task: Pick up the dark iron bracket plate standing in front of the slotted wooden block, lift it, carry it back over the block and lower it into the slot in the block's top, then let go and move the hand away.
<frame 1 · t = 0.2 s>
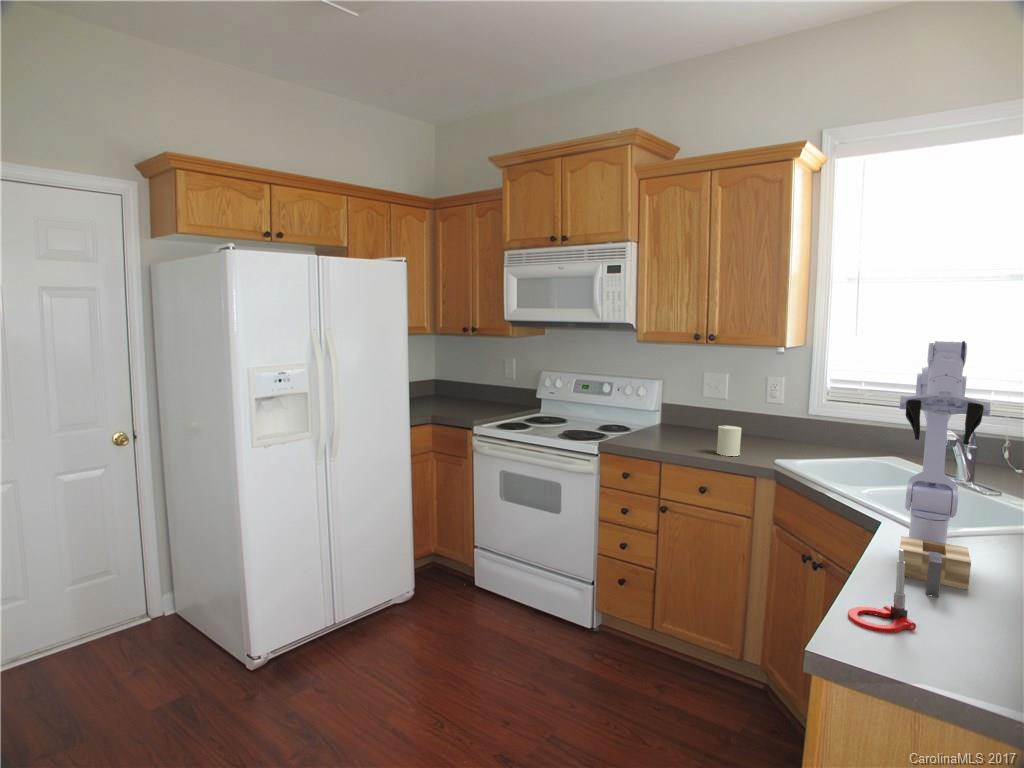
hand: (941, 439, 118), 30 cm above the countertop, tool tilted 45°, fingers open, 7 cm apart
tow hook: (877, 623, 108), on the countertop
bracket: (932, 592, 122), on the countertop
slotted wooden block: (931, 573, 132), on the countertop
can: (728, 455, 258), on the countertop
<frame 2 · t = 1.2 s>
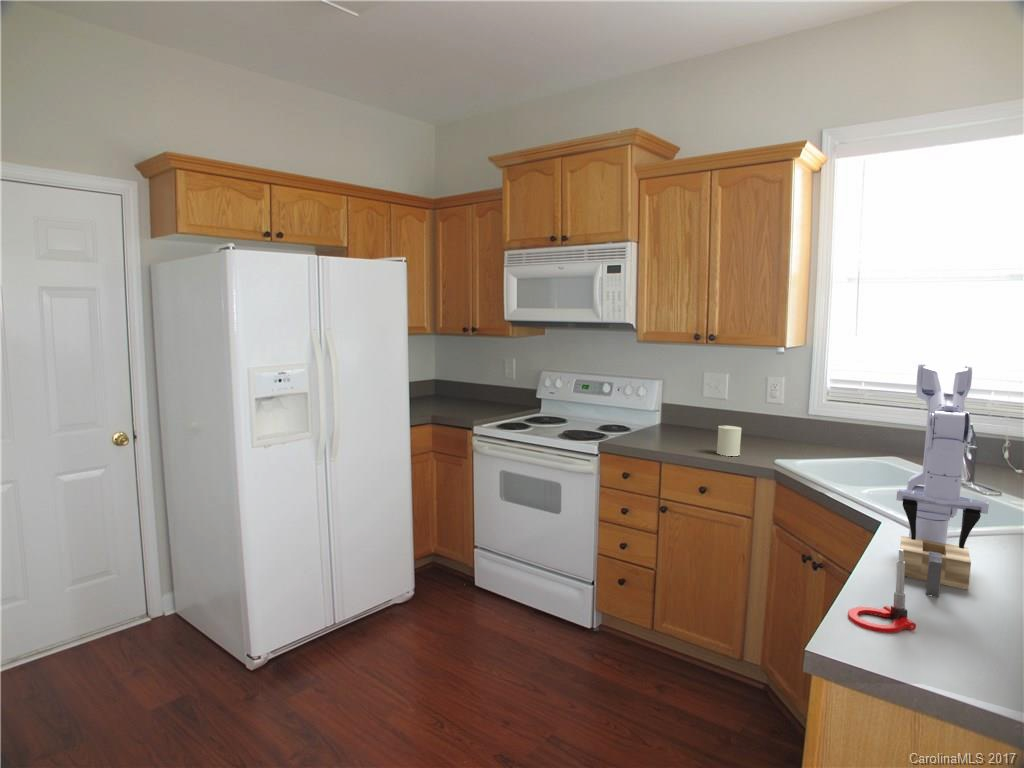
hand: (936, 542, 122), 10 cm above the countertop, tool pointing down, fingers open, 7 cm apart
nothing on the countertop moved.
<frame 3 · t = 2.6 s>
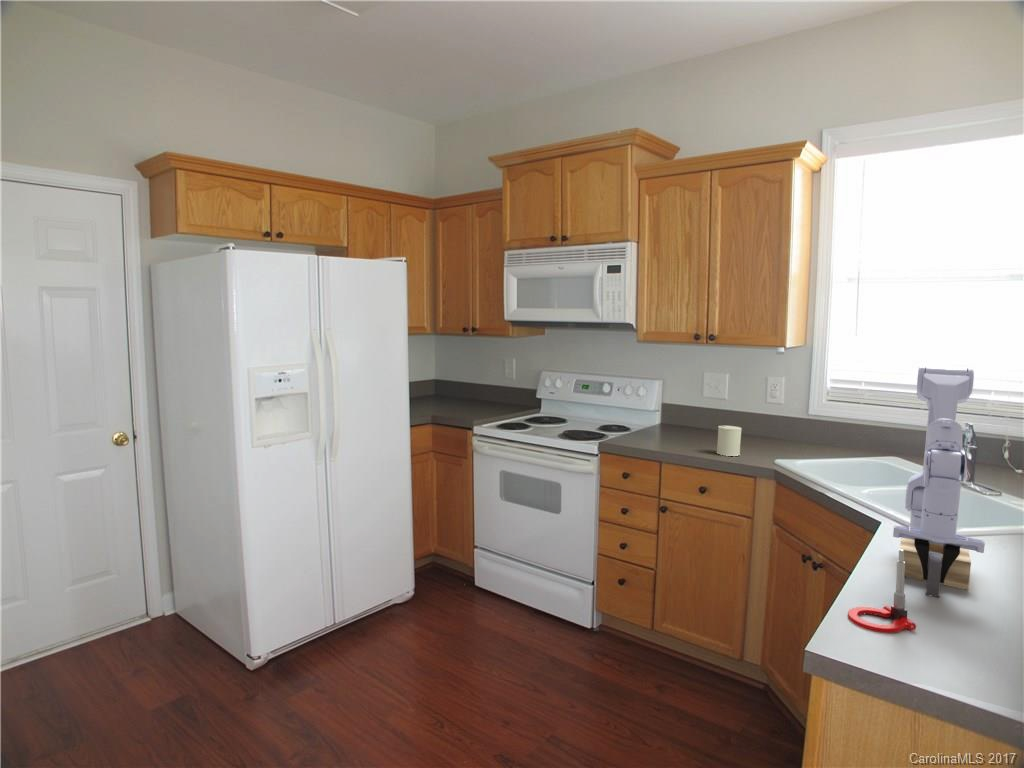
hand: (933, 579, 122), 2 cm above the countertop, tool pointing down, fingers closed on bracket, 2 cm apart
bracket: (932, 591, 122), on the countertop, touching gripper
everything else where it was.
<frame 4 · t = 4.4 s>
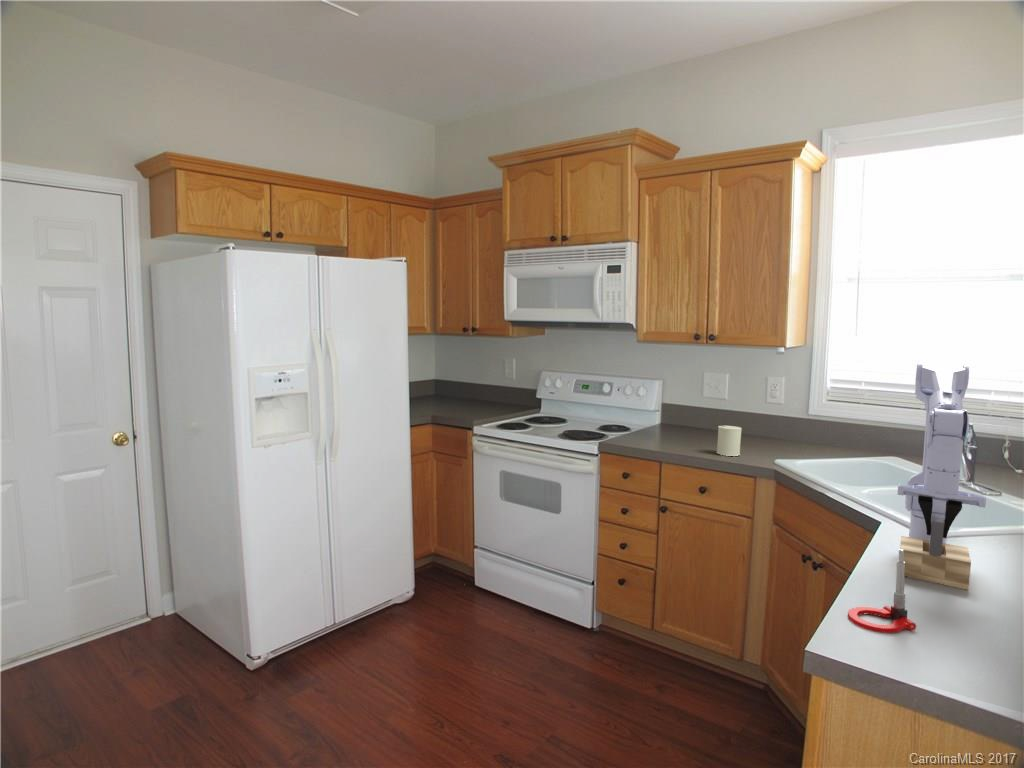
hand: (936, 535, 127), 10 cm above the countertop, tool pointing down, fingers closed on bracket
bracket: (934, 551, 127), point 6 cm above the countertop, touching gripper
everything else where it was.
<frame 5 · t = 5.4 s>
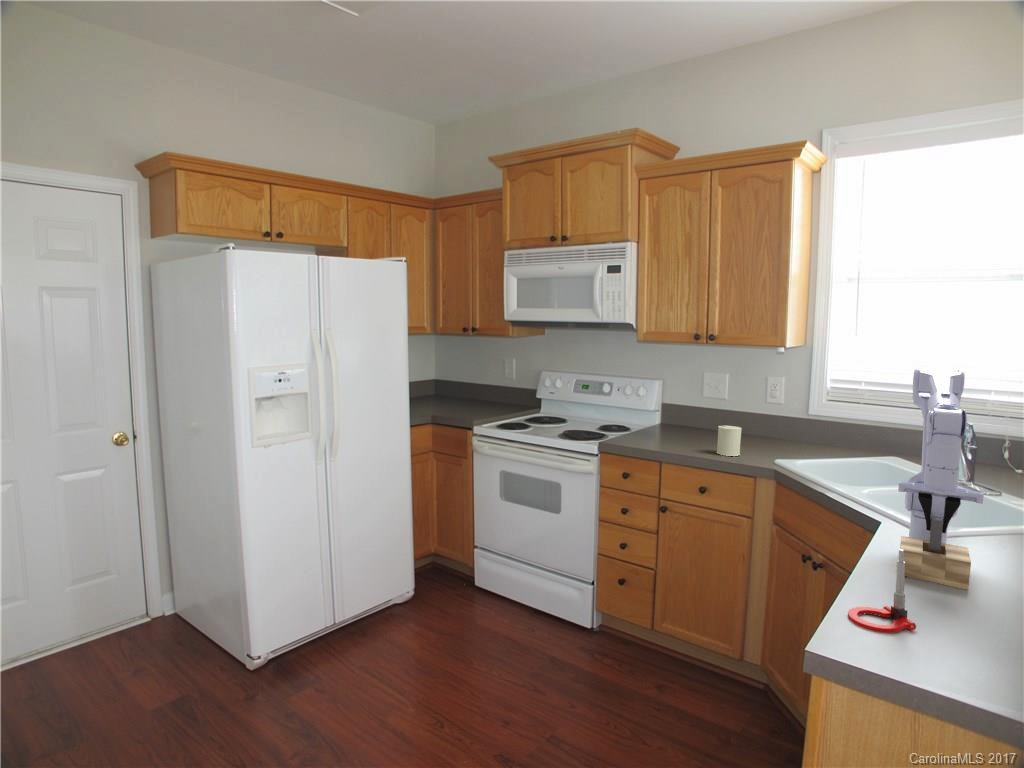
hand: (935, 530, 131), 9 cm above the countertop, tool pointing down, fingers closed on bracket
bracket: (934, 549, 132), point 5 cm above the countertop, touching gripper
everything else where it was.
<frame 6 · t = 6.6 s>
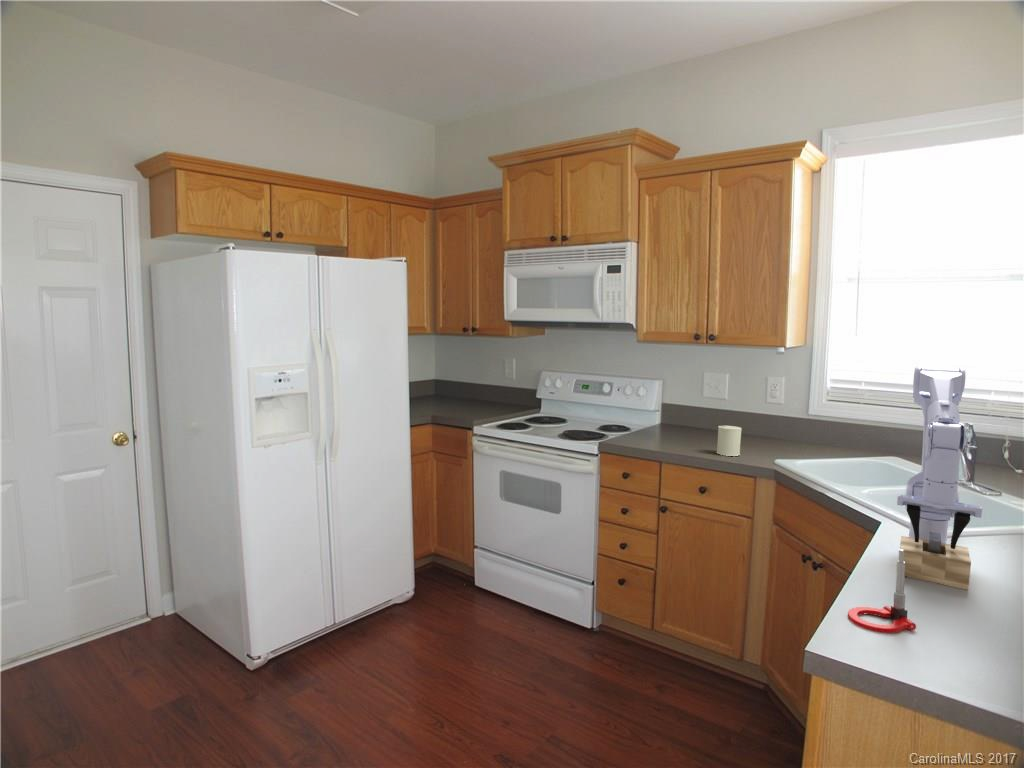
hand: (934, 544, 131), 6 cm above the countertop, tool pointing down, fingers open, 6 cm apart
bracket: (932, 569, 132), point 1 cm above the countertop, touching slotted wooden block
everything else where it was.
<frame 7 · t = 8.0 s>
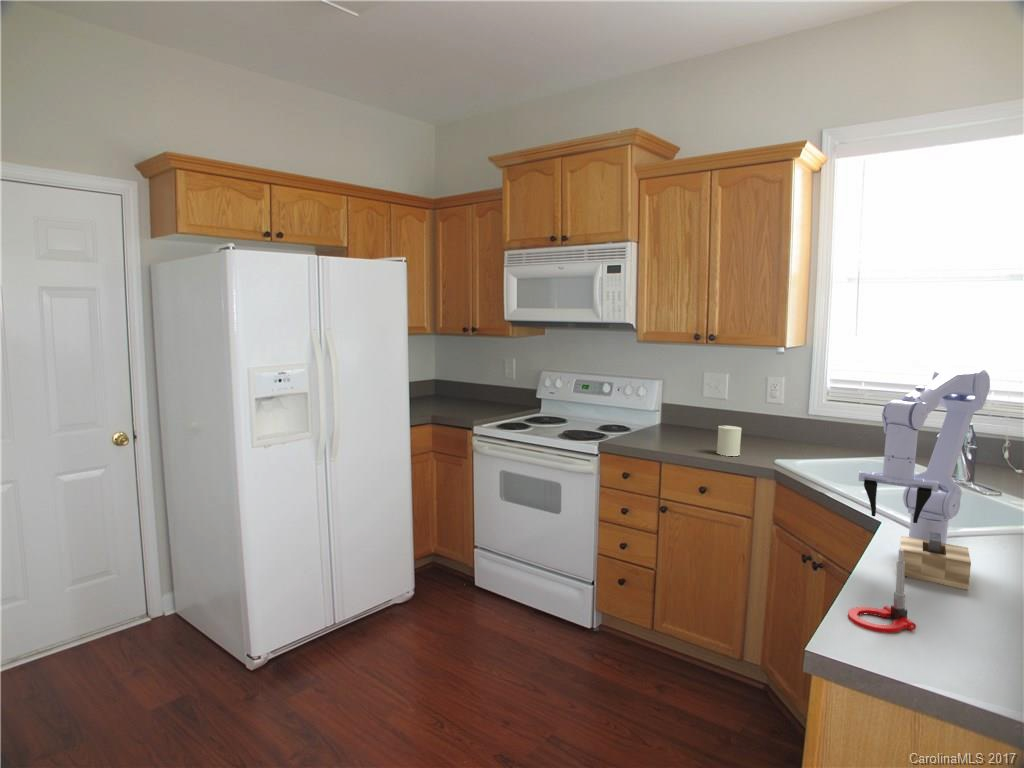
hand: (894, 518, 135), 10 cm above the countertop, tool pointing down, fingers open, 7 cm apart
nothing on the countertop moved.
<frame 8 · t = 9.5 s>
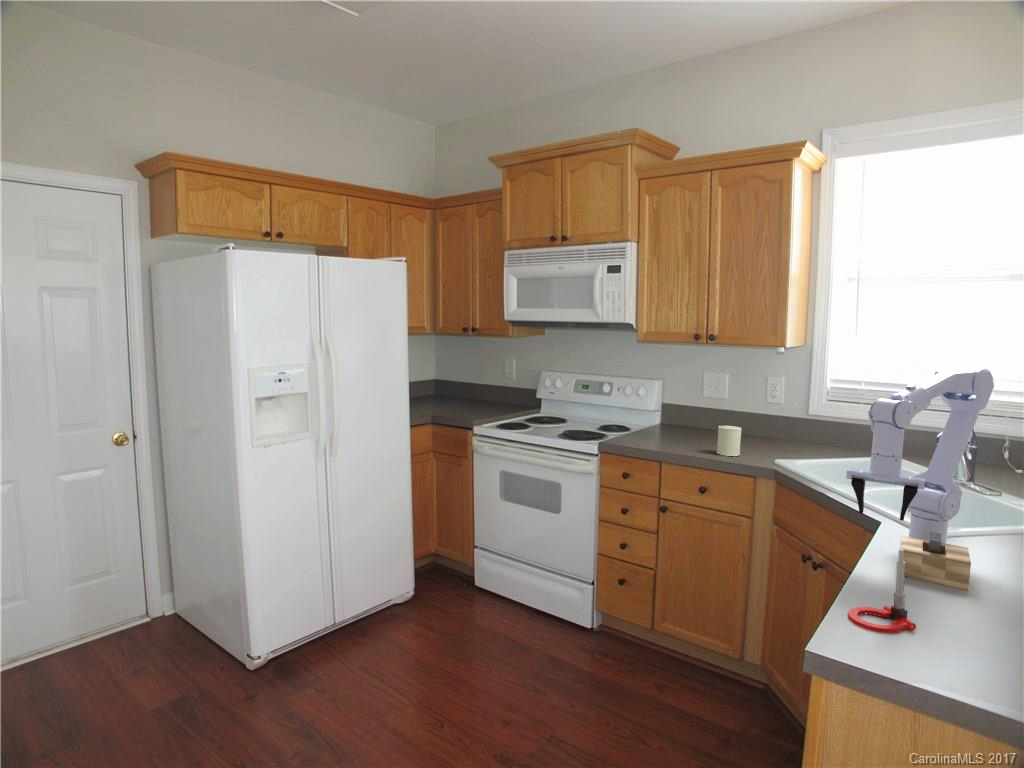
hand: (881, 515, 137), 10 cm above the countertop, tool pointing down, fingers open, 7 cm apart
nothing on the countertop moved.
at the end: bracket 0.0 cm off-centre on the slotted wooden block, point 1.0 cm above the slotted wooden block's base; bracket tilted 0°; the gripper is holding nothing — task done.
